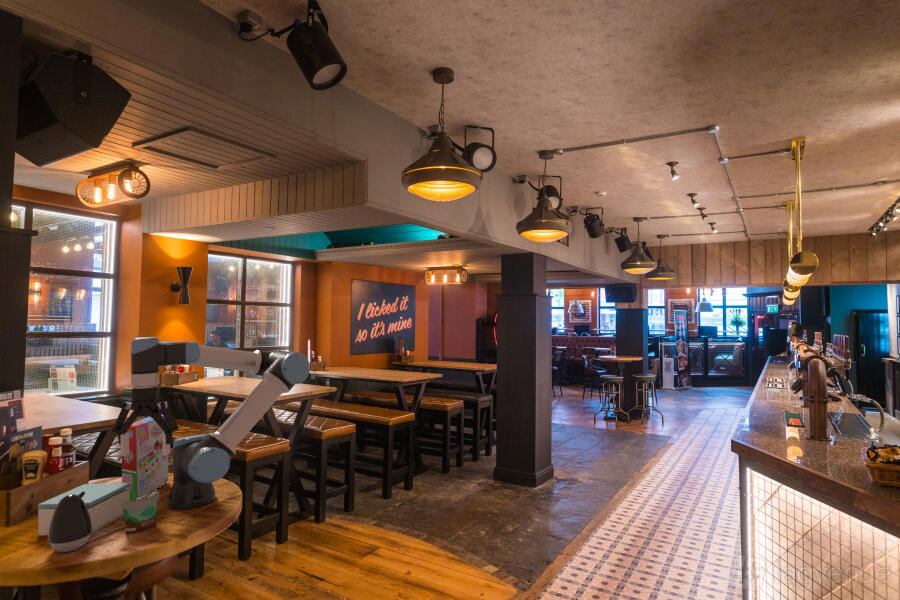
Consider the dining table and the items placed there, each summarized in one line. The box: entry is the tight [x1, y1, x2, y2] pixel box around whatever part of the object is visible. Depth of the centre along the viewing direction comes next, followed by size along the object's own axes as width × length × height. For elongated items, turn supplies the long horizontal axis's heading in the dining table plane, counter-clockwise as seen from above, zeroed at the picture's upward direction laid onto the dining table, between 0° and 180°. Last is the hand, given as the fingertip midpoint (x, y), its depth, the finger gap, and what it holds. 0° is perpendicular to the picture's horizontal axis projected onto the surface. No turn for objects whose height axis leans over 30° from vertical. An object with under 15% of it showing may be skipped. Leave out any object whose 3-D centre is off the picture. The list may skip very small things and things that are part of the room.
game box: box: [121, 413, 169, 501], centre depth 192 cm, size 21×6×27 cm, turn 0°
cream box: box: [37, 488, 130, 536], centre depth 164 cm, size 16×18×8 cm
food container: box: [121, 489, 161, 535], centre depth 160 cm, size 12×6×10 cm, turn 168°
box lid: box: [37, 482, 131, 509], centre depth 164 cm, size 16×18×1 cm
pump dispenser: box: [47, 492, 92, 553], centre depth 147 cm, size 10×10×15 cm
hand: (145, 454), depth 160 cm, fingers open, 13 cm apart
